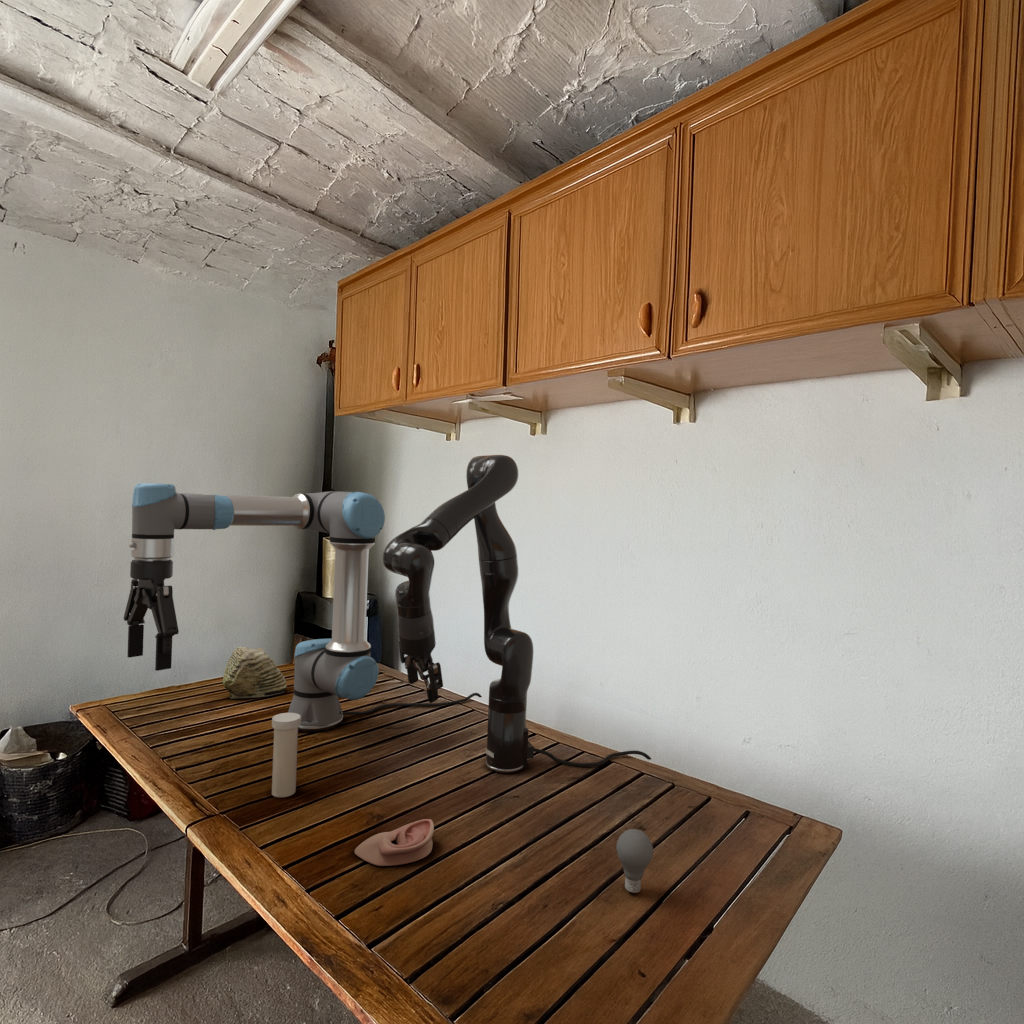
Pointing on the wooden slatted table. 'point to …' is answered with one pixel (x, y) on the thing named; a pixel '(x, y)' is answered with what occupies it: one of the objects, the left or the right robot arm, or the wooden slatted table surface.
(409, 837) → the anatomical model
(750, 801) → the wooden slatted table surface
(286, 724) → the lid
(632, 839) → the light bulb
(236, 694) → the fossil
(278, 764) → the jar
